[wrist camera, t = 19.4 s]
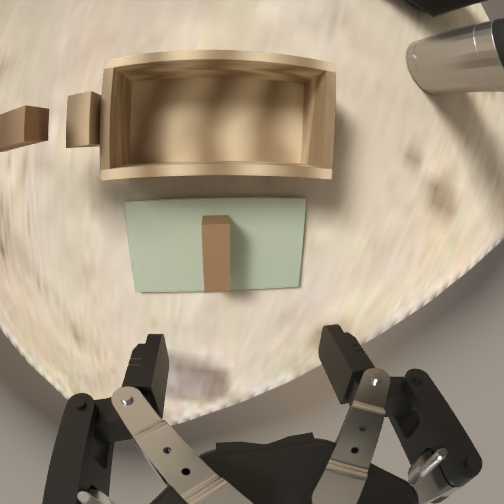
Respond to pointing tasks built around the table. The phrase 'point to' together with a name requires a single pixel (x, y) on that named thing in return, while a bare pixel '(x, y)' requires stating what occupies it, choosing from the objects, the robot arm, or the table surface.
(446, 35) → the robot arm
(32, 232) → the table surface
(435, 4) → the voltmeter
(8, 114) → the wooden block
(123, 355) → the table surface
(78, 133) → the toolbox
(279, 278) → the lid
